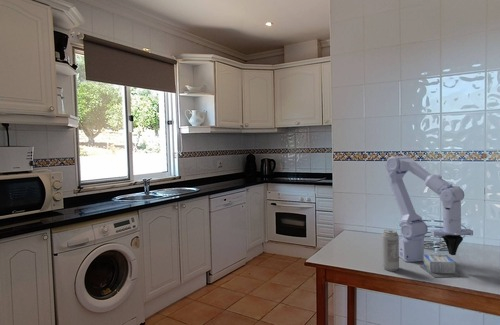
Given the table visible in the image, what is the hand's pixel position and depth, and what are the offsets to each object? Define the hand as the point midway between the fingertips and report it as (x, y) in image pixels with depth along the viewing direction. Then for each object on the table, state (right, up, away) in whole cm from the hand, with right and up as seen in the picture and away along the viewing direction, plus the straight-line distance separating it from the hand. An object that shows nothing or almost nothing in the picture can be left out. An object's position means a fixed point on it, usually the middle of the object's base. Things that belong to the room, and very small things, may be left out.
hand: (452, 254), depth 122 cm
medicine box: (0, -4, +1) cm, 4 cm away
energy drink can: (-21, -7, +5) cm, 23 cm away
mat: (-5, -7, +1) cm, 8 cm away
